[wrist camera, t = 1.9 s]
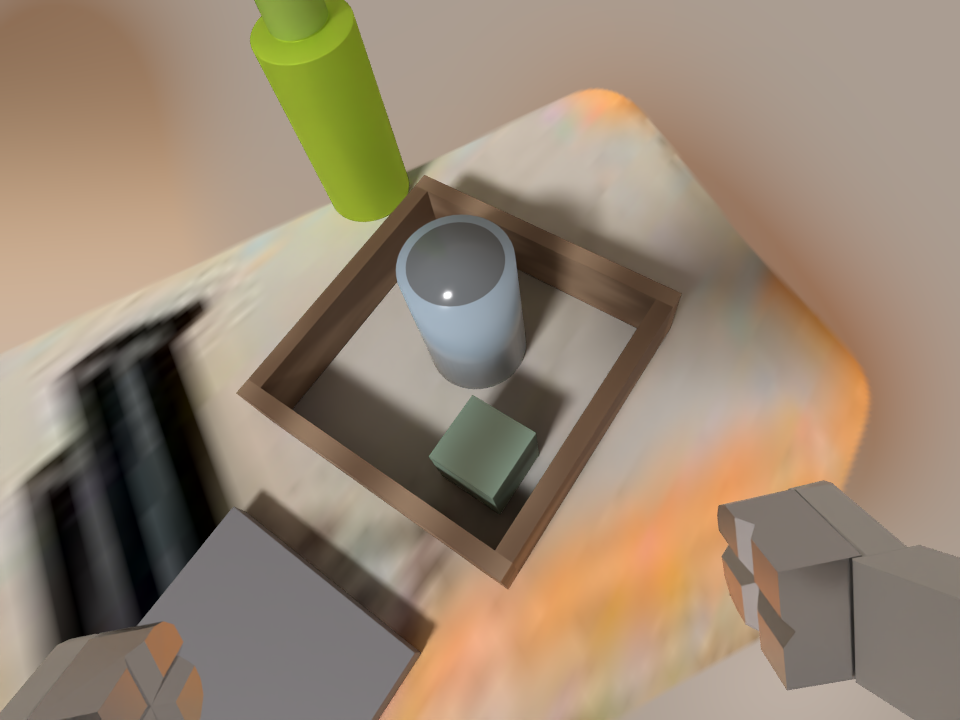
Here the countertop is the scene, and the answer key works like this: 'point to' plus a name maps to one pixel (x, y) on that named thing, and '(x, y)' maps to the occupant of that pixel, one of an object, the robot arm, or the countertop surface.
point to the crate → (371, 281)
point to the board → (278, 633)
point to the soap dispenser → (332, 102)
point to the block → (486, 453)
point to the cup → (465, 298)
